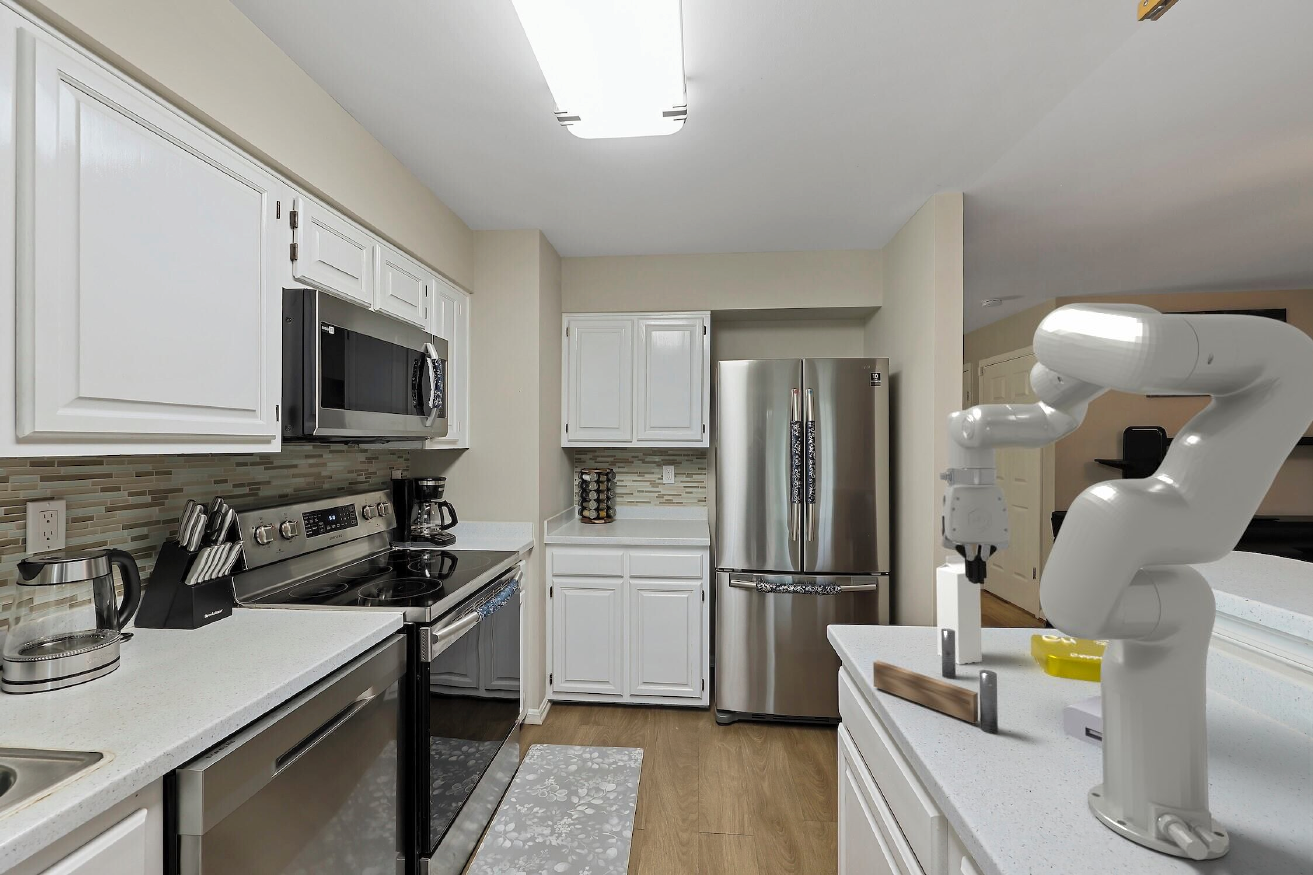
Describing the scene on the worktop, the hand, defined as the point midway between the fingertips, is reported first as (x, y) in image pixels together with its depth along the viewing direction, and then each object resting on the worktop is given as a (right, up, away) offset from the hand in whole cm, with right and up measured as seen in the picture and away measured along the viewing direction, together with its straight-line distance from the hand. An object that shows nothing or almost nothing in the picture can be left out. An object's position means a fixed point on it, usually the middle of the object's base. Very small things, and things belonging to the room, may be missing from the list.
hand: (976, 582), depth 101 cm
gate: (-10, -21, -1) cm, 23 cm away
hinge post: (-4, -21, -10) cm, 24 cm away
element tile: (+30, -22, +15) cm, 40 cm away
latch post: (+1, -21, +11) cm, 24 cm away
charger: (+16, -21, -12) cm, 29 cm away
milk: (+8, -22, +21) cm, 31 cm away
